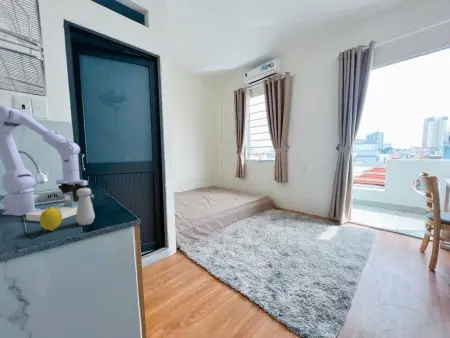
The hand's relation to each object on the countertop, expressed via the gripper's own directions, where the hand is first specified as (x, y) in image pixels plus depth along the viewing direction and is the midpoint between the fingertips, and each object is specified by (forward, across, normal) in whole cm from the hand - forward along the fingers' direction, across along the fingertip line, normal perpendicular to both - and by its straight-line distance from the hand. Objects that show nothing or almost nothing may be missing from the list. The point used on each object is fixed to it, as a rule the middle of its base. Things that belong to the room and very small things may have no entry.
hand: (72, 200), depth 88 cm
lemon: (+5, +14, -20) cm, 25 cm away
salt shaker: (+5, +19, -12) cm, 23 cm away
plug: (+3, 0, 0) cm, 3 cm away
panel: (+4, 0, -5) cm, 7 cm away
